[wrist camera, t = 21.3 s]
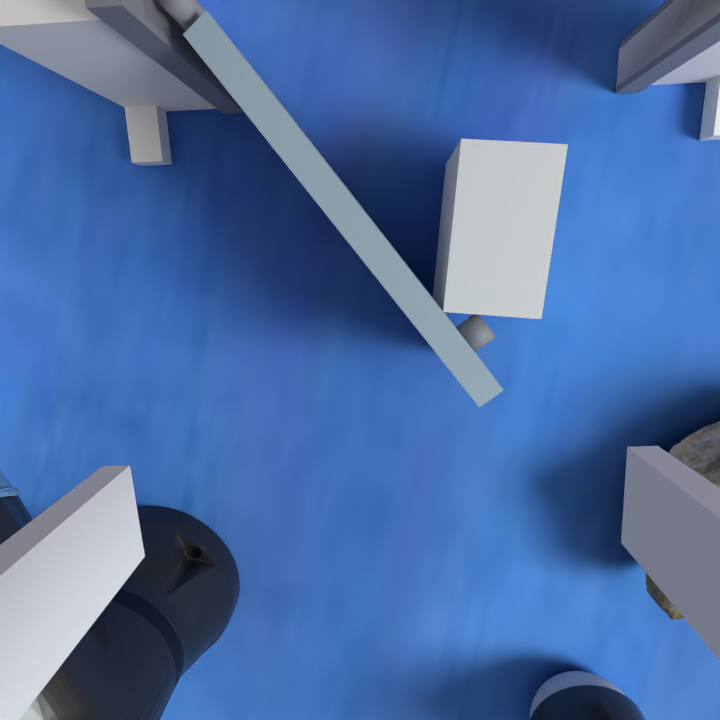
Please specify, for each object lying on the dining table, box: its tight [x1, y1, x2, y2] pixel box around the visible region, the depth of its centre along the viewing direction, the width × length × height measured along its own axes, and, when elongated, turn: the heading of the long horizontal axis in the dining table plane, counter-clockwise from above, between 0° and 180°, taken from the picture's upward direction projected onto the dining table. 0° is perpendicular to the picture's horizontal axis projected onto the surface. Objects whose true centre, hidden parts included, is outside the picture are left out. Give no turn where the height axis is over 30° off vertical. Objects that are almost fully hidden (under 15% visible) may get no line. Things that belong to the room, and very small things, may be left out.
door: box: [158, 0, 503, 407], centre depth 31 cm, size 26×3×14 cm, turn 39°
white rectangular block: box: [433, 139, 568, 319], centre depth 33 cm, size 6×10×9 cm, turn 177°
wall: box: [0, 0, 720, 166], centre depth 27 cm, size 44×10×17 cm, turn 92°
